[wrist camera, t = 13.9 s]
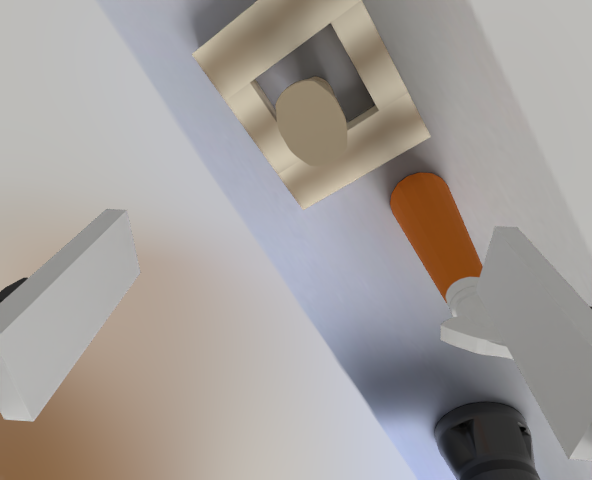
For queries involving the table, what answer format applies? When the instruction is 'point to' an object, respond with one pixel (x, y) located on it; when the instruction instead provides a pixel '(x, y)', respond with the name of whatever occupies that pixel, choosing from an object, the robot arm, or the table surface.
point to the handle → (312, 121)
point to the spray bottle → (447, 260)
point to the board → (262, 115)
